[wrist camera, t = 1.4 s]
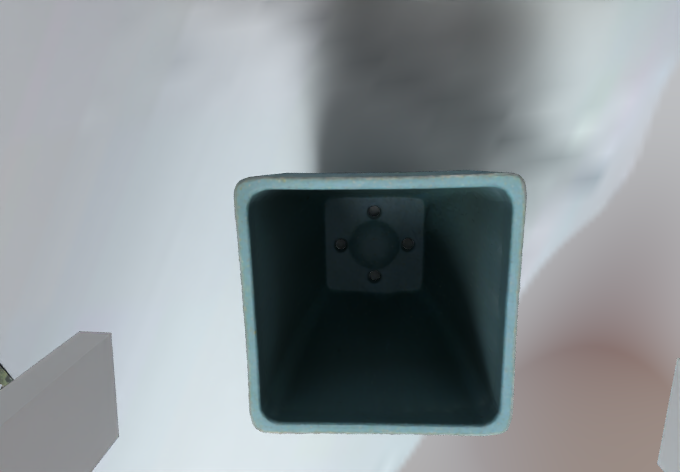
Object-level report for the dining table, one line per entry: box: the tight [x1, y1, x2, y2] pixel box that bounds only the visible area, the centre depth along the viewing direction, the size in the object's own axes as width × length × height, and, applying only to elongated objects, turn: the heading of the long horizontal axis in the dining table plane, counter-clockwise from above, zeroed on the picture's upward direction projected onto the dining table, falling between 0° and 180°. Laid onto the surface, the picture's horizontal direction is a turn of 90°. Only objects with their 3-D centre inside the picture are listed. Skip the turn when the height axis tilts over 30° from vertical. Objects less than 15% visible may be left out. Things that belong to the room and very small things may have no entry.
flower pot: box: [234, 170, 527, 436], centre depth 20 cm, size 9×9×9 cm
